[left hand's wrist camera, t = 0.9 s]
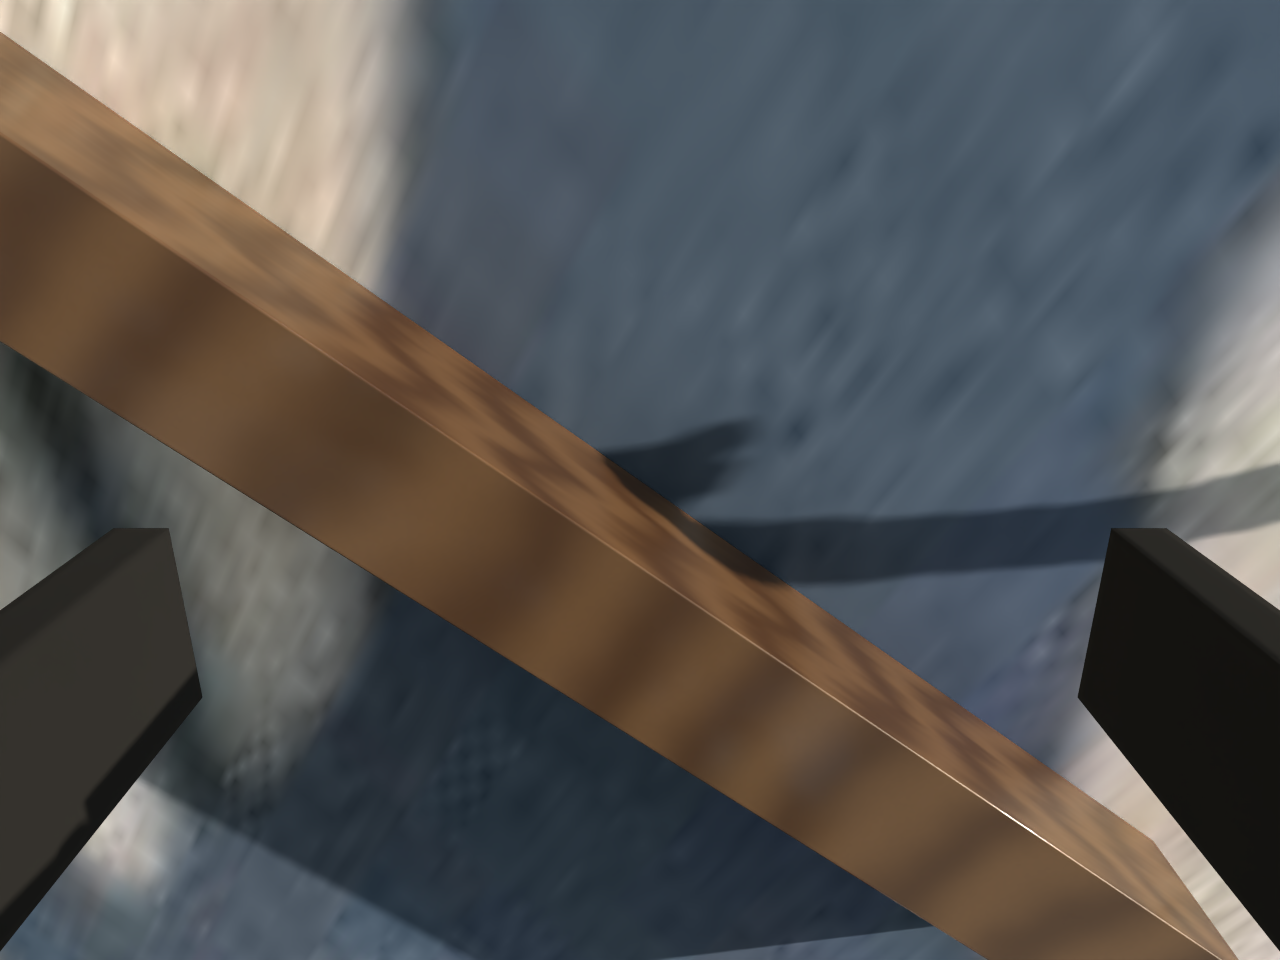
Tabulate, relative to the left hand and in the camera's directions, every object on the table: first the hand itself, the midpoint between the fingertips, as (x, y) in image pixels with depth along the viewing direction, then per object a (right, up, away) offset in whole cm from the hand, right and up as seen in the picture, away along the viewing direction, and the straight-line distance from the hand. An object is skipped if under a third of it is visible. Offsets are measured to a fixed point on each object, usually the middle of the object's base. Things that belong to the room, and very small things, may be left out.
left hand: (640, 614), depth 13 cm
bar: (-1, -1, +25) cm, 25 cm away
